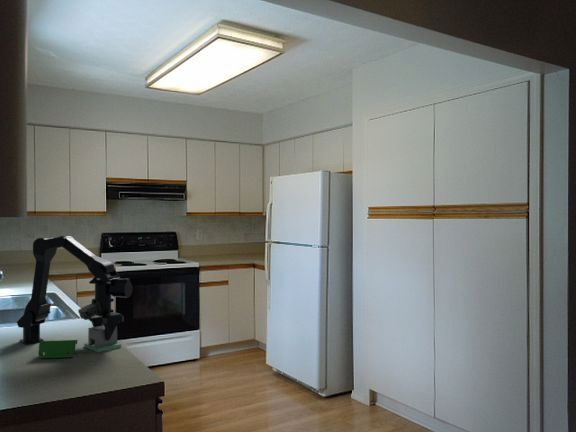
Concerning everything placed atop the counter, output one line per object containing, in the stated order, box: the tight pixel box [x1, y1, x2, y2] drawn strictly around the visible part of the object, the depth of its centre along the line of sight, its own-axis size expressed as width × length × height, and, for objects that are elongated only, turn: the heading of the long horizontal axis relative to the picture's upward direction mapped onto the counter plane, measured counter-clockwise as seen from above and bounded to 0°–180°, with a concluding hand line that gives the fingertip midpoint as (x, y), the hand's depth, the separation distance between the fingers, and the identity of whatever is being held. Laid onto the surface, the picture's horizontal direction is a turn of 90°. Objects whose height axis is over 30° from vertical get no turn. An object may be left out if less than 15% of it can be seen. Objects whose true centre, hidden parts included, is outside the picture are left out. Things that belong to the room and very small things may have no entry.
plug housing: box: [87, 325, 118, 348], centre depth 183 cm, size 6×8×6 cm
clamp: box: [38, 339, 78, 359], centre depth 172 cm, size 12×6×9 cm, turn 95°
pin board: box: [83, 342, 122, 353], centre depth 183 cm, size 10×9×3 cm
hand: (102, 338), depth 183 cm, fingers open, 7 cm apart
